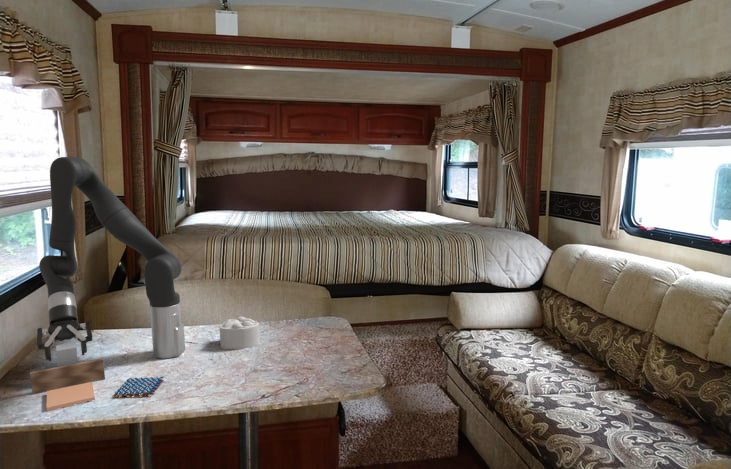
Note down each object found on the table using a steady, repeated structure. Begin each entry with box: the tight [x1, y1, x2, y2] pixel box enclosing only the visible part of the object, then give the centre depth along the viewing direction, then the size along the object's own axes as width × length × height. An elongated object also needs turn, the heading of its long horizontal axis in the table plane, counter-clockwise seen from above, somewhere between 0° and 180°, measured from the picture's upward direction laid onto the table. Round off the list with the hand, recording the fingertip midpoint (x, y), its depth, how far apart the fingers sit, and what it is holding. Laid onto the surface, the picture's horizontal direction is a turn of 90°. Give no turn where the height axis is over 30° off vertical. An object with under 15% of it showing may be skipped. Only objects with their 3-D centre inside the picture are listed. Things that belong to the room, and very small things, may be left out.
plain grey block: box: [55, 341, 79, 367], centre depth 148 cm, size 5×5×10 cm
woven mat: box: [113, 376, 165, 399], centre depth 142 cm, size 10×11×2 cm
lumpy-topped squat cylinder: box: [219, 316, 261, 350], centre depth 176 cm, size 10×13×9 cm
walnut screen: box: [29, 358, 106, 395], centre depth 144 cm, size 18×1×6 cm, turn 122°
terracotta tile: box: [46, 382, 96, 412], centre depth 137 cm, size 11×11×1 cm
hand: (66, 357), depth 149 cm, fingers open, 8 cm apart
